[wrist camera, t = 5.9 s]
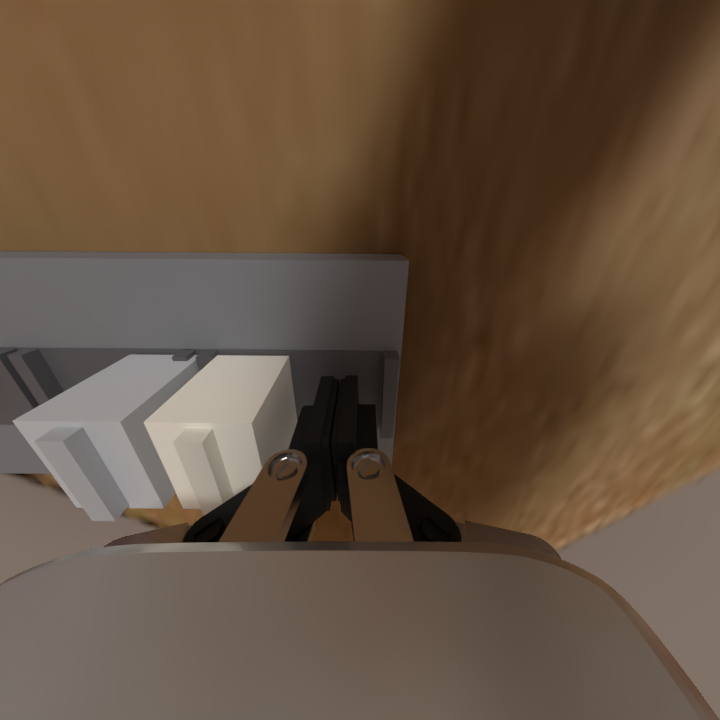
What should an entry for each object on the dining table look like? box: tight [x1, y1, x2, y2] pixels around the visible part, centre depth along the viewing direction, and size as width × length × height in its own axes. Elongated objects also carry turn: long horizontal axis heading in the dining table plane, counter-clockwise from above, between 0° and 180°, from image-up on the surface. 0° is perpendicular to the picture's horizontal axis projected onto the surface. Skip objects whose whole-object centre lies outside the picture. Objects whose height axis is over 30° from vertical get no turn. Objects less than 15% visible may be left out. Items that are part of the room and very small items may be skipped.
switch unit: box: [0, 251, 409, 474], centre depth 14 cm, size 26×12×3 cm, turn 90°
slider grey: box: [13, 354, 199, 521], centre depth 11 cm, size 3×4×5 cm
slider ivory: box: [143, 355, 297, 515], centre depth 11 cm, size 3×4×5 cm
